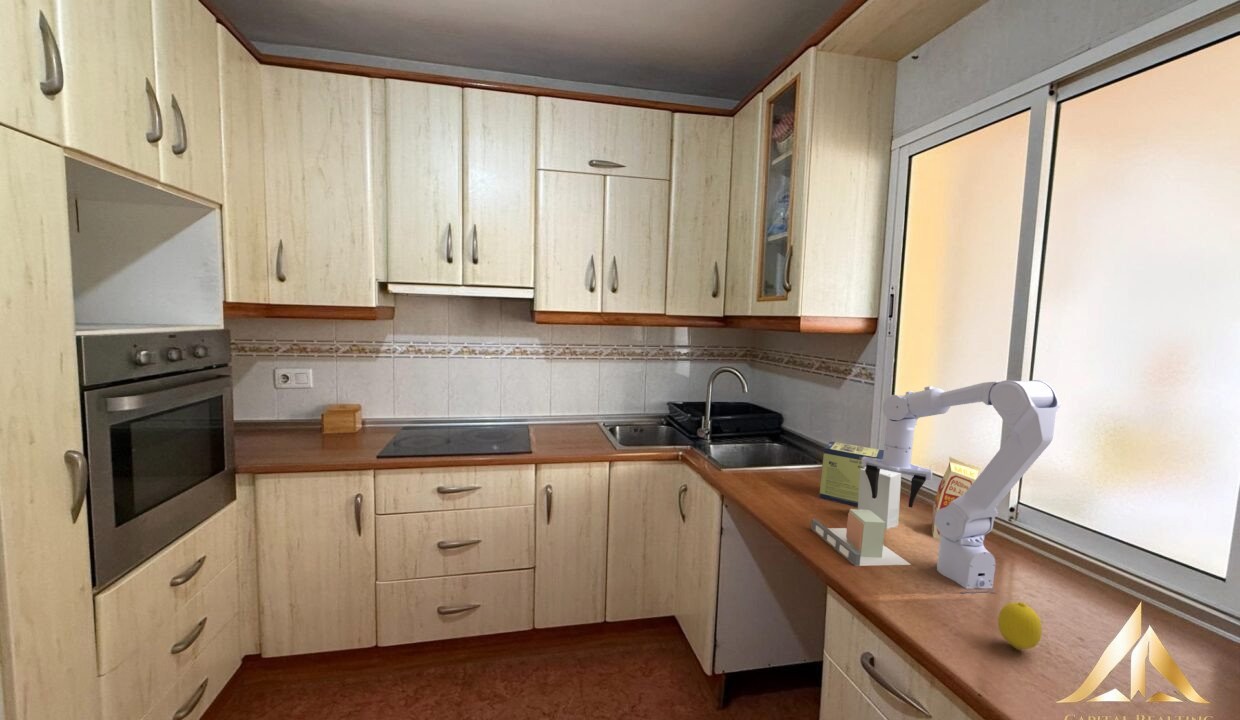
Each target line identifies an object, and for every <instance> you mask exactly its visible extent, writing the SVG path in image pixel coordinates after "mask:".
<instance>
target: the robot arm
mask: <svg viewBox="0 0 1240 720" xmlns="http://www.w3.org/2000/svg"><path fill="white" fill-rule="evenodd" d="M923 389H924V390H921V391H915V392H914V391H913V390H912V391H906V392H905V394H904V395H897V394H891V395H890V396H888V397H886V398H885V399H884V401H883V403H882V412H883V413H884V415H885V416H886V425H885V426H886V428H885V436H884V437H885V438H884V445H883V447H884V448H883V450H884V454H883V459H877V458H869V457H863V458H862V464H861V466H866V469H865V472H866V475H867V477H868V479H869V482H870V486H871V491H872V498H874V499H875V498H876V497H877V493H878V478H879V472H880V469H883V470H888V471H893V472H897V473H901V475H902V474H903V475H908V476H912V478H911V480H910V481H911V482H910V495H909V500H908V508H913V507H914V503H915V499H916V497H917V495H918V492H919V491H920V490H921V488H922V486H923V485H924V484H925V482H926V480H927V481H928V480H929V481H932V479H933V473H934V471H933V470H932V469H927V468H923V467H920V466H917V465H913V464H911V463H912V454H913V444H914V437H915V436H914V435H915V428H916V426H917V423H918V419H920V418H926V417H930V416H931V417H932V416H937V415H944V414H946V413H947V412H948V411H949V410H950V408H951V407H954V406H955V407H956V406H961V405H969V404H975V403H983V404H984V405H987V406H993V408H994V409H995V411H996V412H997V414H998V415H999V416H1000V418H1001V419H1002V420H1003V421H1004V424H1006V425H1007V427H1008V429H1009V431H1010V434H1011V435H1010V436H1009V438H1007V440H1006V441H1005V442H1004V444H1002V446H1001V447H1000V449H999V450H998V451H997V452H996V454H995V455H994V456H993V457H992V459H991V460H990V461H989V462H988V464H987V465H986V466H985V468H984V469H983V470H982V471H981V472H980V474H979V475H977V478H976V480H975V481H974V483H973V484H972V485H971V486H970V488H969V489H968V490H967V492H966V493H965V494H963V495H962V496H960V497H958V498H956V499H955V500H953V501H952V502H951V503H950V504H949V505H948V506H947V507H945V508H941V509H939V510H938V511H937V512H936V514H935V525H936V527H937V529H938V531H939V532H940V536H941V537H940V539H939V547H938V554H937V555H938V557H937V563H936V564H937V565H936V570H937V571H938V572H939V574H940V575H942V576H943V577H946V578H948V579H950V580H952V581H954V582H956V583H957V584H958V585H959V586H961V587H963V588H964V589H966V590H972V589H976V590H977V589H979V591H960V592H959V593H960V594H981V593H982V594H984V593H985V594H986V593H996V592H997V591H996V590H985V591H983V590H981V591H980V589H993V588H994V579H995V574H996V573H995V572H996V563H997V562H996V559H995V556H994V555H993V554H992V553H991V552H990V551H988V550H987V549H986V547H985V546H984V541H985V536H986V535H988V534H990V533H991V532H992V531H993V528H994V521H995V519H996V517H997V516H998V515H999V512H998V510H997V506H999V504H1000V503H1001V502H1002V500H1003V499H1004V498H1006V496H1007V495H1008V493H1010V491H1012V489H1013V488H1014V486H1016V484H1017V483H1018V482H1019V480H1020V479H1021V478H1023V476H1024V475H1025V474H1026V473H1027V471H1028V470H1029V469H1030V468H1031V467H1032V465H1033V464H1034V463H1035V462H1036V461H1037V460H1038V459H1039V457H1040V456H1041V455H1042V454H1043V452H1045V450H1046V449H1047V448H1048V447H1049V446H1050V444H1052V441H1053V439H1054V430H1055V421H1056V420H1055V419H1056V413H1057V412H1058V410H1059V408H1060V407H1061V402H1060V399H1059V397H1058V395H1057V393H1056V391H1055V389H1054V388H1053V386H1052V385H1051V384H1049V383H1048V382H1046V381H1043V380H1041V379H1038V380H1037V379H1033V380H1011V379H1010V380H1009V379H1007V380H1006V379H1005V380H1002V381H987V382H986V381H985V382H982V383H981V382H980V383H977V384H972V385H968V386H964V387H960V388H956V389H952V390H949V391H948V390H947V391H946V390H944V389H942V388H939V387H935V386H925V387H924V388H923Z"/></svg>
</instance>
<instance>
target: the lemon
mask: <svg viewBox="0 0 1240 720" xmlns="http://www.w3.org/2000/svg"><path fill="white" fill-rule="evenodd" d="M997 624H998V629H999V633H1000V634H1001V636H1002V637H1003V639H1004V640H1005V641H1006V642H1008V644H1009V645H1011V646H1012V647H1013V648H1014V649H1015V648H1016V649H1015V650H1017V649H1019V650H1022V649H1023V650H1029V649H1032V648H1035V647H1036V646H1037V645H1038V644H1039V642H1040V641H1041V638H1042V635H1043V634H1042V632H1043V631H1042V629H1043V628H1042V623H1041V619H1040V617H1039V615H1038V614H1037V613H1036V611H1035V610H1034V609H1032V608H1031V607H1030V606H1028V605H1027V604H1026V603H1025V602H1024V601H1020V602H1016V601H1015V602H1009V603H1007V604H1004V606H1003V607H1002V609H1001V610H1000V612H999V615H998V619H997Z"/></svg>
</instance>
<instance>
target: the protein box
mask: <svg viewBox="0 0 1240 720" xmlns="http://www.w3.org/2000/svg"><path fill="white" fill-rule="evenodd" d="M883 454H884V449H878V448H872V447H867V446H866V447H864V446H861V445H860V446H859V445H854V444H849V443H848V444H847V443H843V442H836V441H829V443H828V444H826V446H825V447H824V448H823V456H822V457H823V458H822V469H821V477H820V485H819V493H818V498H819V499H821V500H826V499H827V501H830V500H831V502H834V501H835V502H836V503H840V504H843V503H844V504H843V505H847V504H848V505H847V506H851V507H855V508H858V497H859V478H860V469H861V468H865V467H866V466H861V464H862V458H863V457H869V458H877V459H883Z"/></svg>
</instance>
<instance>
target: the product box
mask: <svg viewBox="0 0 1240 720" xmlns="http://www.w3.org/2000/svg"><path fill="white" fill-rule="evenodd" d="M847 514H848V515H847V523H846V528H847V532H846V538H847V543H848V544H849V545H850V546H851V547H852V548H853V549H854V550H855V551H857V552H858V553H859V554H860V555H861V557H879V558H882V551H883V545H884V540H885V530H886V529H885V522H884V521H883V520H882V519H880V518H879V517H878V516H877V515H875V514H874V513H873V512H872V511H870V510H863V509H858V508H850V509H849V512H848V513H847Z"/></svg>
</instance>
